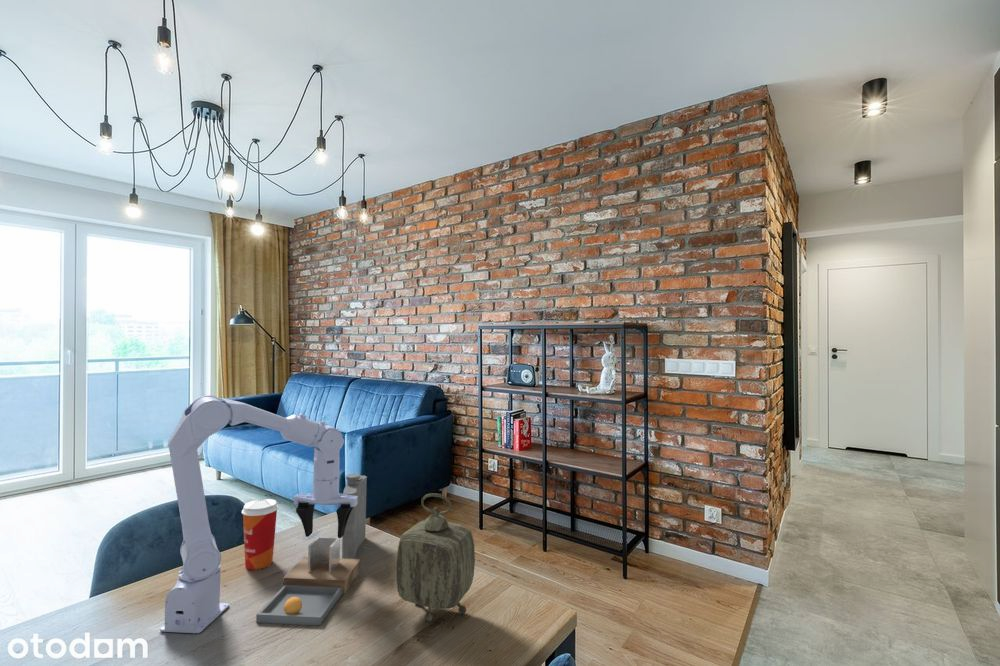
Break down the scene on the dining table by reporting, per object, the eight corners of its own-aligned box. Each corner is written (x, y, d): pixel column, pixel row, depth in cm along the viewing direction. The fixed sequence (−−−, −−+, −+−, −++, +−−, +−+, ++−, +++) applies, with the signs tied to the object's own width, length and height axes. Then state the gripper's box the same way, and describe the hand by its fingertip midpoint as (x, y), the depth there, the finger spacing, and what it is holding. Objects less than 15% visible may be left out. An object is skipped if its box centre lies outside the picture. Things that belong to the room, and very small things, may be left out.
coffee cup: (241, 559, 119) (242, 500, 120) (277, 554, 123) (278, 496, 123) (238, 575, 112) (240, 511, 112) (277, 568, 115) (278, 507, 115)
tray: (320, 625, 93) (320, 617, 93) (256, 622, 94) (256, 614, 94) (341, 594, 104) (342, 587, 105) (284, 592, 105) (284, 584, 105)
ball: (306, 596, 98) (303, 615, 97) (291, 596, 98) (287, 615, 97) (299, 597, 95) (295, 616, 94) (283, 596, 95) (278, 616, 94)
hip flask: (353, 563, 119) (355, 484, 119) (336, 564, 118) (338, 484, 119) (366, 536, 135) (367, 466, 135) (351, 537, 134) (353, 466, 134)
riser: (344, 594, 105) (344, 580, 105) (282, 591, 105) (283, 577, 105) (359, 571, 115) (360, 559, 115) (303, 569, 115) (303, 556, 115)
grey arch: (331, 573, 108) (331, 546, 108) (307, 572, 108) (308, 545, 108) (339, 562, 113) (340, 537, 113) (317, 561, 113) (317, 536, 113)
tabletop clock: (474, 611, 99) (476, 492, 99) (455, 637, 91) (458, 506, 91) (413, 597, 104) (415, 483, 104) (390, 620, 96) (393, 496, 96)
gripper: (362, 473, 114) (361, 529, 114) (303, 471, 115) (302, 527, 115) (352, 482, 107) (350, 542, 107) (289, 480, 108) (288, 539, 108)
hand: (324, 535), depth 111 cm, fingers open, 7 cm apart
